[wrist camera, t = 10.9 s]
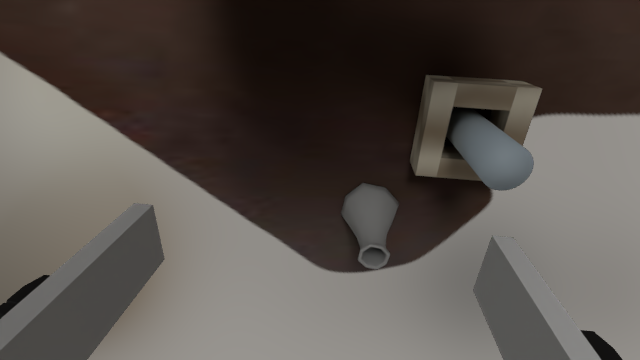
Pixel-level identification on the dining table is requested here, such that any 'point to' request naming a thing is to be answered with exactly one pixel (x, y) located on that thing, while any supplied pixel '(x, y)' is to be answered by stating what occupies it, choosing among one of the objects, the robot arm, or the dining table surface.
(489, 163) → the peg
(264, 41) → the dining table surface
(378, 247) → the flask
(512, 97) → the socket block
